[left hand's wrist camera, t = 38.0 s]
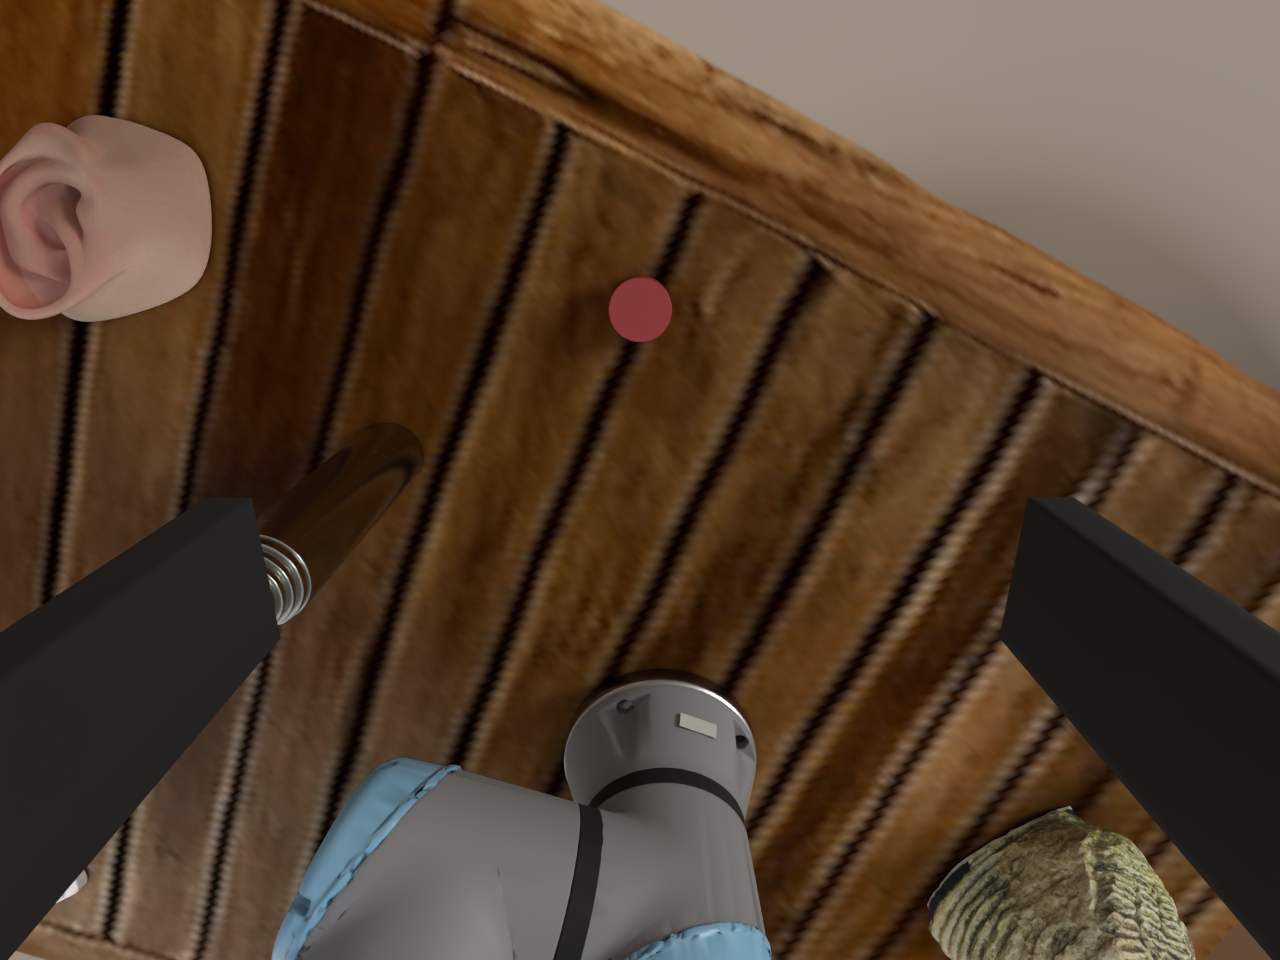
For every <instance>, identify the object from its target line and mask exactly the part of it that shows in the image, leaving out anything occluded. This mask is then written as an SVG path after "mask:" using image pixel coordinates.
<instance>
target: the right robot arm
mask: <svg viewBox="0 0 1280 960" xmlns="http://www.w3.org/2000/svg"><path fill="white" fill-rule="evenodd" d="M86 883H87V875H86V872H85V870H83V872H82V873H81V874H80V875H79V876H78V877H77V879H76V880H75V881H74V882H73V883H72V885H71V886H70V887H69V888H68V889H67V890H66V892H65V893H64V894H63V895H62V896H61V898H60V899H59V900H58V901H57V902H59V901H61V900H63V899H65V898H68V897H70V896H72V895H74V894H75V893H77V892H78V891H79V890H80V889H81V888H82V887H83V886H84V885H85V884H86ZM57 902H56V903H57Z"/></svg>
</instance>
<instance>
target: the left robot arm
mask: <svg viewBox="0 0 1280 960" xmlns="http://www.w3.org/2000/svg"><path fill="white" fill-rule="evenodd" d="M279 639H280V633H279V628H278V623H277V618H276V613H275V608H274V603H273V599H272V594H271V589H270V584H269V579H268V574H267V569H266V564H265V559H264V555H263V550H262V545H261V540H260V535H259V530H258V525H257V520H256V516H255V511H254V506H253V501H252V498H205V499H204V500H202V501H200V502H199V503H197V504H196V505H194V506H193V507H191V508H190V509H188V510H187V511H185V512H184V513H182V514H181V515H179V516H178V517H176V518H175V519H173V520H171V521H170V522H168V523H167V524H165V525H164V526H162V527H161V528H159V529H158V530H156V531H155V532H153V533H152V534H150V535H149V536H147V537H146V538H144V539H143V540H141V541H139V542H138V543H136V544H135V545H133V546H132V547H130V548H129V549H127V550H126V551H124V552H123V553H121V554H120V555H118V556H117V557H115V558H114V559H112V560H111V561H109V562H107V563H106V564H104V565H103V566H101V567H100V568H98V569H97V570H95V571H94V572H92V573H91V574H89V575H88V576H86V577H85V578H83V579H82V580H80V581H79V582H77V583H75V584H74V585H72V586H71V587H69V588H68V589H66V590H65V591H63V592H62V593H60V594H59V595H57V596H56V597H54V598H53V599H51V600H50V601H48V602H46V603H45V604H43V605H42V606H40V607H39V608H37V609H36V610H34V611H33V612H31V613H30V614H28V615H27V616H25V617H24V618H22V619H21V620H19V621H18V622H16V623H14V624H13V625H11V626H10V627H8V628H7V629H5V630H4V631H2V632H1V633H0V960H8V959H9V958H10V957H11V955H12V954H13V953H14V952H15V951H16V950H17V948H18V947H19V946H20V945H21V944H22V942H23V941H24V940H25V939H26V938H27V937H28V935H29V934H30V933H31V932H32V931H33V929H34V928H35V927H36V926H37V925H38V924H39V922H40V921H41V920H42V919H43V918H44V916H45V915H46V914H47V913H48V912H49V911H50V909H51V908H52V907H53V906H54V905H55V903H56V902H57V901H58V900H59V899H60V898H61V896H62V895H63V894H64V893H65V892H66V890H67V889H68V888H69V887H70V886H71V885H72V883H73V882H74V881H75V880H76V879H77V877H78V876H79V875H80V874H81V873H82V872H83V870H84V869H85V868H86V867H87V866H88V864H89V863H90V862H91V861H92V860H93V859H94V857H95V856H96V855H97V854H98V853H99V852H100V850H101V849H102V848H103V847H104V846H105V844H106V843H107V842H108V841H109V840H110V839H111V837H112V836H113V835H114V834H115V833H116V831H117V830H118V829H119V828H120V827H121V826H122V824H123V823H124V822H125V821H126V820H127V818H128V817H129V816H130V815H131V814H132V813H133V811H134V810H135V809H136V808H137V807H138V805H139V804H140V803H141V802H142V801H143V800H144V798H145V797H146V796H147V795H148V794H149V792H150V791H151V790H152V789H153V788H154V787H155V785H156V784H157V783H158V782H159V781H160V779H161V778H162V777H163V776H164V775H165V774H166V772H167V771H168V770H169V769H170V768H171V766H172V765H173V764H174V763H175V762H176V761H177V759H178V758H179V757H180V756H181V755H182V753H183V752H184V751H185V750H186V749H187V748H188V746H189V745H190V744H191V743H192V742H193V740H194V739H195V738H196V737H197V736H198V735H199V733H200V732H201V731H202V730H203V729H204V727H205V726H206V725H207V724H208V723H209V722H210V720H211V719H212V718H213V717H214V716H215V715H216V713H217V712H218V711H219V710H220V709H221V707H222V706H223V705H224V704H225V703H226V702H227V700H228V699H229V698H230V697H231V696H232V694H233V693H234V692H235V691H236V690H237V689H238V687H239V686H240V685H241V684H242V683H243V681H244V680H245V679H246V678H247V677H248V676H249V674H250V673H251V672H252V671H253V670H254V668H255V667H256V666H257V665H258V664H259V663H260V661H261V660H262V659H263V658H264V657H265V655H266V654H267V653H268V652H269V651H270V650H271V648H272V647H273V646H274V645H275V644H276V642H277V641H278V640H279ZM1000 639H1001V640H1002V641H1003V642H1004V644H1005V645H1006V646H1007V647H1008V648H1009V650H1010V651H1011V652H1012V653H1013V654H1014V655H1015V657H1016V658H1017V659H1018V660H1019V661H1020V663H1021V664H1022V665H1023V666H1024V667H1025V668H1026V670H1027V671H1028V672H1029V673H1030V674H1031V676H1032V677H1033V678H1034V679H1035V680H1036V681H1037V683H1038V684H1039V685H1040V686H1041V687H1042V689H1043V690H1044V691H1045V692H1046V693H1047V694H1048V696H1049V697H1050V698H1051V699H1052V700H1053V702H1054V703H1055V704H1056V705H1057V706H1058V707H1059V709H1060V710H1061V711H1062V712H1063V713H1064V715H1065V716H1066V717H1067V718H1068V719H1069V720H1070V722H1071V723H1072V724H1073V725H1074V726H1075V727H1076V729H1077V730H1078V731H1079V732H1080V733H1081V735H1082V736H1083V737H1084V738H1085V739H1086V740H1087V742H1088V743H1089V744H1090V745H1091V746H1092V748H1093V749H1094V750H1095V751H1096V752H1097V753H1098V755H1099V756H1100V757H1101V758H1102V759H1103V761H1104V762H1105V763H1106V764H1107V765H1108V766H1109V768H1110V769H1111V770H1112V771H1113V772H1114V774H1115V775H1116V776H1117V777H1118V778H1119V779H1120V781H1121V782H1122V783H1123V784H1124V785H1125V787H1126V788H1127V789H1128V790H1129V791H1130V792H1131V794H1132V795H1133V796H1134V797H1135V798H1136V800H1137V801H1138V802H1139V803H1140V804H1141V805H1142V807H1143V808H1144V809H1145V810H1146V811H1147V813H1148V814H1149V815H1150V816H1151V817H1152V818H1153V820H1154V821H1155V822H1156V823H1157V824H1158V826H1159V827H1160V828H1161V829H1162V830H1163V831H1164V833H1165V834H1166V835H1167V836H1168V837H1169V839H1170V840H1171V841H1172V842H1173V843H1174V844H1175V846H1176V847H1177V848H1178V849H1179V850H1180V852H1181V853H1182V854H1183V855H1184V856H1185V857H1186V859H1187V860H1188V861H1189V862H1190V863H1191V864H1192V866H1193V867H1194V868H1195V869H1196V870H1197V872H1198V873H1199V874H1200V875H1201V876H1202V877H1203V879H1204V880H1205V881H1206V882H1207V883H1208V885H1209V886H1210V887H1211V888H1212V889H1213V890H1214V892H1215V893H1216V894H1217V895H1218V896H1219V898H1220V899H1221V900H1222V901H1223V902H1224V903H1225V905H1226V906H1227V907H1228V908H1229V909H1230V911H1231V912H1232V913H1233V914H1234V915H1235V916H1236V918H1237V919H1238V920H1239V921H1240V922H1241V924H1242V925H1243V926H1244V927H1245V928H1246V929H1247V931H1248V932H1249V933H1250V934H1251V935H1252V937H1253V938H1254V939H1255V940H1256V941H1257V942H1258V944H1259V945H1260V946H1261V947H1262V948H1263V949H1264V951H1265V952H1266V953H1267V954H1268V955H1269V957H1270V958H1271V959H1272V960H1280V633H1279V632H1278V631H1276V630H1275V629H1273V628H1272V627H1270V626H1269V625H1267V624H1266V623H1264V622H1262V621H1261V620H1259V619H1258V618H1256V617H1255V616H1253V615H1252V614H1250V613H1249V612H1247V611H1246V610H1244V609H1243V608H1241V607H1240V606H1238V605H1237V604H1235V603H1234V602H1232V601H1230V600H1229V599H1227V598H1226V597H1224V596H1223V595H1221V594H1220V593H1218V592H1217V591H1215V590H1214V589H1212V588H1211V587H1209V586H1208V585H1206V584H1205V583H1203V582H1201V581H1200V580H1198V579H1197V578H1195V577H1194V576H1192V575H1191V574H1189V573H1188V572H1186V571H1185V570H1183V569H1182V568H1180V567H1179V566H1177V565H1176V564H1174V563H1173V562H1171V561H1169V560H1168V559H1166V558H1165V557H1163V556H1162V555H1160V554H1159V553H1157V552H1156V551H1154V550H1153V549H1151V548H1150V547H1148V546H1147V545H1145V544H1144V543H1142V542H1141V541H1139V540H1137V539H1136V538H1134V537H1133V536H1131V535H1130V534H1128V533H1127V532H1125V531H1124V530H1122V529H1121V528H1119V527H1118V526H1116V525H1115V524H1113V523H1112V522H1110V521H1109V520H1107V519H1105V518H1104V517H1102V516H1101V515H1099V514H1098V513H1096V512H1095V511H1093V510H1092V509H1090V508H1089V507H1087V506H1086V505H1084V504H1083V503H1081V502H1080V501H1078V500H1076V499H1075V498H1028V501H1027V506H1026V511H1025V516H1024V520H1023V525H1022V530H1021V535H1020V540H1019V545H1018V550H1017V555H1016V559H1015V564H1014V569H1013V574H1012V579H1011V584H1010V589H1009V594H1008V599H1007V603H1006V608H1005V613H1004V618H1003V623H1002V628H1001V633H1000ZM564 768H565V774H566V778H567V781H568V784H569V787H570V791H571V794H572V798H573V801H574V802H573V801H569V800H566V799H562V798H559V797H555V796H552V795H548V794H545V793H541V792H538V791H534V790H531V789H527V788H524V787H521V786H517V785H514V784H510V783H507V782H503V781H500V780H496V779H493V778H489V777H486V776H482V775H479V774H475V773H472V772H468V771H465V770H462V769H461V767H460V766H457V765H448V766H441V765H437V764H432V763H428V762H423V761H419V760H414V759H410V758H394V759H391V760H388V761H386V762H384V763H382V764H380V765H379V766H377V767H376V768H375V769H374V770H373V771H372V772H371V773H370V774H369V775H367V776H366V778H365V779H364V780H363V781H362V782H361V784H360V785H359V786H358V787H357V789H356V790H355V791H354V793H353V794H352V795H351V797H350V798H349V800H348V801H347V803H346V804H345V806H344V807H343V809H342V810H341V812H340V813H339V815H338V817H337V818H336V820H335V821H334V823H333V825H332V826H331V828H330V830H329V832H328V833H327V835H326V837H325V838H324V840H323V842H322V844H321V846H320V847H319V849H318V851H317V853H316V855H315V856H314V858H313V860H312V862H311V864H310V866H309V868H308V870H307V872H306V874H305V876H304V878H303V880H302V882H301V884H300V886H299V894H298V895H297V896H296V897H295V899H294V901H293V903H292V905H291V907H290V909H289V911H288V913H287V914H286V916H285V918H284V920H283V922H282V925H281V927H280V930H279V932H278V935H277V938H276V941H275V945H274V948H273V953H272V960H771V949H770V944H769V941H768V940H767V938H766V935H765V929H764V924H763V918H762V913H761V907H760V902H759V897H758V891H757V886H756V880H755V875H754V869H753V864H752V858H751V853H750V847H749V842H748V837H747V831H746V825H745V817H746V813H747V808H748V804H749V800H750V795H751V791H752V786H753V782H754V778H755V773H756V768H757V752H756V746H755V741H754V737H753V732H752V728H751V725H750V722H749V720H748V717H747V715H746V714H745V712H744V710H743V709H742V707H741V706H740V705H739V703H738V702H737V701H736V700H735V699H734V698H733V697H732V696H731V695H730V694H729V693H728V692H727V691H725V690H724V689H722V688H721V687H720V686H718V685H716V684H715V683H713V682H711V681H709V680H707V679H705V678H702V677H700V676H697V675H694V674H690V673H686V672H681V671H674V670H647V671H641V672H636V673H632V674H628V675H625V676H622V677H619V678H617V679H615V680H613V681H611V682H609V683H607V684H605V685H603V686H602V687H600V688H599V689H597V690H596V691H595V692H594V693H592V694H591V695H590V696H589V697H588V698H587V699H586V700H585V701H584V702H583V703H582V705H581V706H580V707H579V709H578V710H577V712H576V713H575V715H574V717H573V719H572V721H571V724H570V726H569V729H568V734H567V740H566V747H565V755H564Z"/></svg>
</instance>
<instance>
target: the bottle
mask: <svg viewBox="0 0 1280 960" xmlns="http://www.w3.org/2000/svg"><path fill="white" fill-rule="evenodd" d="M422 464H423V451H422V448H421V445H420V443H419V441H418V440H417V438H416V437H415V436H414V435H413V434H412V433H411V432H410V431H409V430H407V429H406V428H404V427H402V426H400V425H397V424H393V423H379V424H376V425H373V426H371V427H369V428H368V429H366V430H365V431H364V432H363V433H361V434H360V435H359V436H358V437H356V438H355V439H354V440H353V441H351V442H350V443H349V444H347V445H346V446H345V447H344V448H342V449H341V450H340V451H339V452H337V453H336V454H335V455H334V456H332V457H331V458H330V459H329V460H327V461H326V462H325V463H323V464H322V465H321V466H320V467H318V468H317V469H316V470H315V471H313V472H312V473H311V474H310V475H308V476H307V477H306V478H304V479H303V480H302V481H301V482H299V483H298V484H297V485H296V486H294V487H293V488H292V489H291V490H289V491H288V492H287V493H286V494H284V495H283V496H282V497H280V498H279V499H278V500H277V501H275V502H274V503H273V504H272V505H270V506H269V507H268V508H267V509H265V510H264V511H263V512H262V513H260V514H259V515H258V516H256V520H257V525H258V530H259V535H260V540H261V545H262V550H263V555H264V559H265V564H266V569H267V574H268V579H269V584H270V589H271V594H272V599H273V603H274V608H275V613H276V618H277V623H278V625H280V624H282V623H285V622H287V621H288V620H290V619H291V618H292V617H294V616H295V615H297V614H298V613H299V612H300V611H302V610H303V608H304V607H305V606H306V605H307V604H308V603H309V601H310V600H311V599H312V598H313V597H314V595H315V594H316V593H317V592H318V591H319V590H320V588H321V587H322V586H323V585H324V584H325V583H326V581H327V580H328V579H329V578H330V577H331V576H332V574H333V573H334V572H335V571H336V570H337V568H338V567H339V566H340V565H341V564H342V563H343V561H344V560H345V559H346V558H347V557H348V556H349V554H350V553H351V552H352V551H353V550H354V549H355V547H356V546H357V545H358V544H359V543H360V541H361V540H362V539H363V538H364V537H365V536H366V534H367V533H368V532H369V531H370V530H371V529H372V527H373V526H374V525H375V524H376V523H377V521H378V520H379V519H380V518H381V517H382V516H383V514H384V513H385V512H386V511H387V510H388V509H389V507H390V506H391V505H392V504H393V503H394V502H395V500H396V499H397V498H398V497H399V496H400V494H401V493H402V492H403V491H404V490H405V489H406V487H407V486H408V485H409V484H410V483H411V482H412V480H413V479H414V478H415V477H416V476H417V474H418V473H419V472H420V470H421V467H422Z"/></svg>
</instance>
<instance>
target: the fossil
mask: <svg viewBox="0 0 1280 960" xmlns="http://www.w3.org/2000/svg"><path fill="white" fill-rule="evenodd" d="M927 906H928V908H929V913H930V921H929V930H930V932H931V935H932V937H933V938H934V939H935V940H936V941H937V942H939V944H940V945H941V948H942V950H943V951H944V953H945V954H946V955H947V956H948V957H949V958H951V959H952V960H1195V953H1194V947H1193V944H1192V942H1191V939H1190V936H1189V934H1188V931H1187V929H1186V927H1185V925H1184V923H1183V922H1182V921H1181V920H1179V917H1178V914H1177V909H1176V906H1175V904H1174V901H1173V899H1172V898H1171V897H1170V896H1169V893H1168V891H1166V890H1165V888H1164V885H1163V883H1162V881H1161V880H1160V878H1159V877H1158V875H1157V874H1156V873H1155V872H1154V870H1153V869H1152V867H1151V866H1150V864H1149V863H1148V862H1147V860H1146V858H1145V857H1144V855H1143V854H1142V853H1141V851H1140V850H1139V849H1138V848H1137V847H1136V846H1135V845H1134V844H1133V842H1132V841H1131V840H1129V839H1128V838H1126V837H1124V836H1122V835H1120V834H1118V833H1114V832H1110V831H1107V830H1104V829H1101V828H1099V827H1097V826H1092V825H1087V824H1086V823H1085V822H1084V821H1083V820H1082V819H1081V818H1079V817H1078V816H1077V815H1076V814H1075V813H1074V811H1073V810H1072V808H1071V807H1070V806H1068V807H1064V808H1061V809H1057V810H1054V811H1051V812H1049V813H1047V814H1046V815H1044V816H1042V817H1039V818H1037V819H1034V820H1032V821H1030V822H1028V823H1026V824H1024V825H1022V826H1020V827H1018V828H1016V829H1013V830H1011V831H1010V832H1009V833H1008V834H1007V835H1005V836H1003V837H1001V838H998V839H996V840H993V841H991V842H990V843H988V844H987V845H985V846H984V847H982V848H981V849H979V850H977V851H976V852H974V853H973V854H971V855H970V856H968V857H967V858H965V859H964V860H963V861H962V862H960V863H959V864H958V865H957V866H955V867H954V868H953V869H952V870H951V871H950V873H949V874H948V875H947V876H946V877H945V879H944V880H943V881H942V882H941V884H940V886H939V888H938V889H937V890H936V891H934V893H933V894H932V896H931V898H930V900H929V902H928V904H927Z"/></svg>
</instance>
